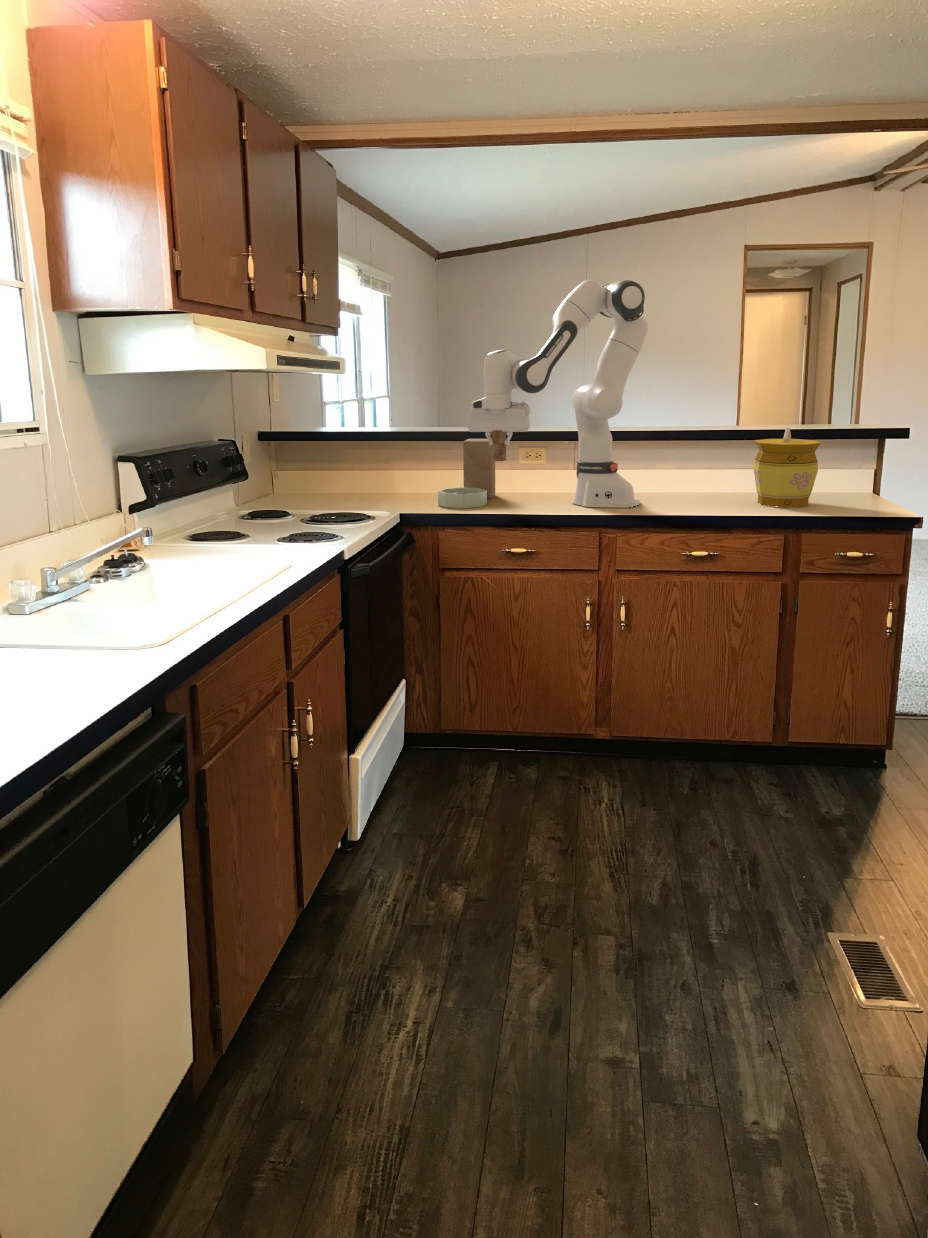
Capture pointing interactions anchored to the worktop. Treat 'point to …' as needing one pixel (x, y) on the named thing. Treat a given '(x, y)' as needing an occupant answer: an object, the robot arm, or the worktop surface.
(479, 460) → the wooden block
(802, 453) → the container
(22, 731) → the worktop surface
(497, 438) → the wooden rectangular beam
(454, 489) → the octagonal green tray
